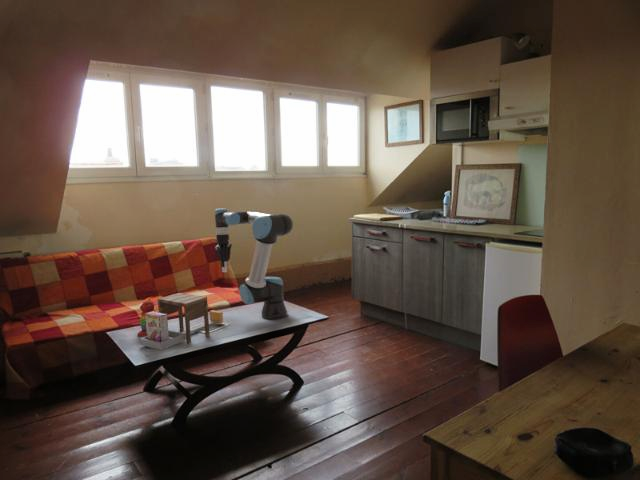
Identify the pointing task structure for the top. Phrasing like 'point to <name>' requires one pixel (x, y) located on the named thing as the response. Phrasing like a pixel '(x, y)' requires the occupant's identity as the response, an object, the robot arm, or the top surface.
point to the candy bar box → (157, 326)
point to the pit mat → (211, 327)
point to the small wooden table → (186, 310)
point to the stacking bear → (145, 307)
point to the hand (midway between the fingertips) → (224, 271)
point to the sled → (179, 337)
